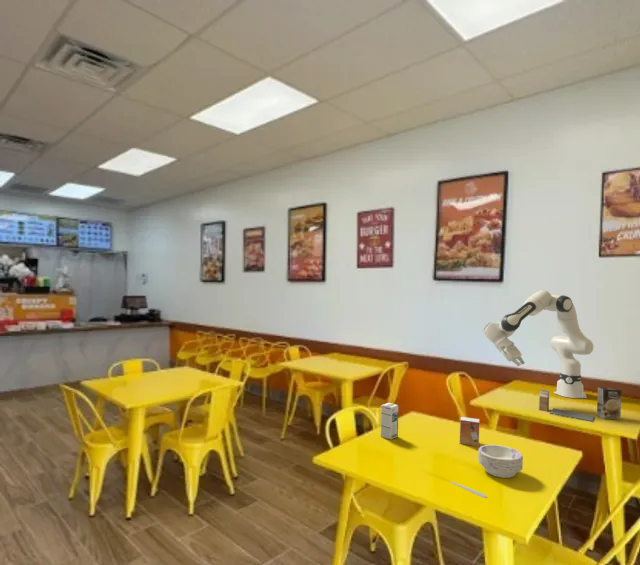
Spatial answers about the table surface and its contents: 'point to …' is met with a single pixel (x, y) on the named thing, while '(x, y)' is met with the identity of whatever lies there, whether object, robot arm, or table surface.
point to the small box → (469, 431)
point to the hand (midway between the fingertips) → (521, 364)
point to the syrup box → (389, 420)
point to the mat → (572, 414)
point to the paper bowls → (500, 460)
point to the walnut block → (544, 400)
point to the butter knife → (471, 490)
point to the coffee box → (609, 403)
